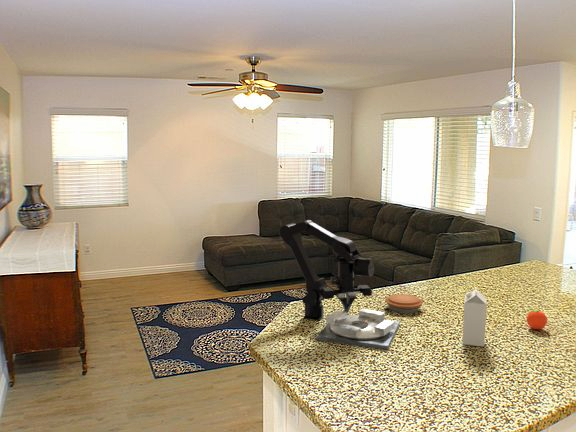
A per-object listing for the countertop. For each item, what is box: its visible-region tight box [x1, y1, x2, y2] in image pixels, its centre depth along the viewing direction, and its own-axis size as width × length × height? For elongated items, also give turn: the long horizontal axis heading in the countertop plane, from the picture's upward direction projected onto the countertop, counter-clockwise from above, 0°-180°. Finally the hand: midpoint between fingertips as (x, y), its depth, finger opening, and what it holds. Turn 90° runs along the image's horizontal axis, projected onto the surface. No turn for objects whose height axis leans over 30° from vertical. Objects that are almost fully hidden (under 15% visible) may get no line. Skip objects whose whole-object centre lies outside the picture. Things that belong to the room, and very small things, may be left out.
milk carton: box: [461, 288, 488, 348], centre depth 181 cm, size 7×7×19 cm
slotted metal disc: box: [325, 307, 395, 340], centre depth 191 cm, size 23×23×4 cm
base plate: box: [316, 314, 401, 351], centre depth 191 cm, size 25×25×2 cm
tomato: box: [524, 309, 548, 330], centre depth 195 cm, size 8×7×7 cm
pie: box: [384, 293, 424, 314], centre depth 218 cm, size 15×16×5 cm
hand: (346, 313), depth 201 cm, fingers closed
